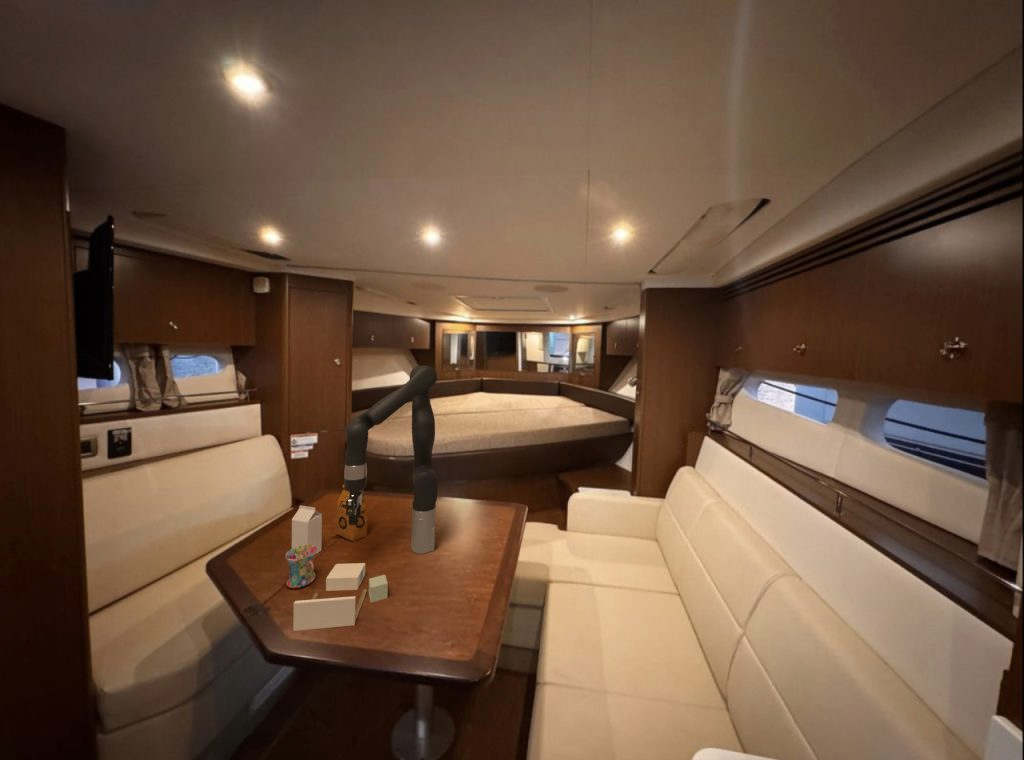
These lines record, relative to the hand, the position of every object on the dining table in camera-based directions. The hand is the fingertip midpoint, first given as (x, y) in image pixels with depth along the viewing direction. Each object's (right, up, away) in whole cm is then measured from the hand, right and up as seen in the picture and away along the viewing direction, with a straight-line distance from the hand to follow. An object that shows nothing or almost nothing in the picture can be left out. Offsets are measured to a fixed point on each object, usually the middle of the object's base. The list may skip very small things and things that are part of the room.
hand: (354, 520), depth 122 cm
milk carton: (-22, -17, +7) cm, 29 cm away
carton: (+1, -18, -8) cm, 20 cm away
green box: (+14, -19, -14) cm, 27 cm away
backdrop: (+4, -19, -27) cm, 34 cm away
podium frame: (+3, -19, -20) cm, 27 cm away
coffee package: (-12, -16, +22) cm, 30 cm away
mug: (-13, -18, -10) cm, 24 cm away
